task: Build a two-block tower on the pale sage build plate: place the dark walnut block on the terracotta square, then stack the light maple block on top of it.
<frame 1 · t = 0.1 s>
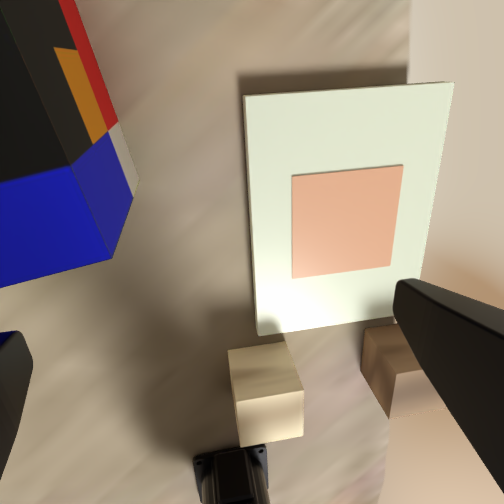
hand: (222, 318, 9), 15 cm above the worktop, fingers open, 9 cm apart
puzzle toy: (11, 110, 19), on the worktop
build plate: (339, 218, 25), on the worktop
walnut block: (387, 345, 31), on the worktop
maple block: (257, 367, 30), on the worktop
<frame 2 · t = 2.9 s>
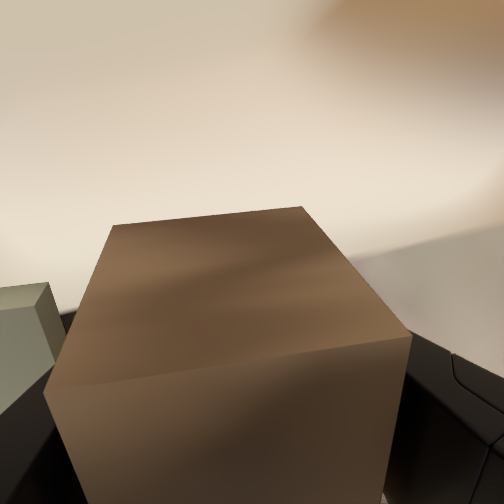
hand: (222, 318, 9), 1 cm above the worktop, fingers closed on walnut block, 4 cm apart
walnut block: (218, 294, 10), on the worktop, touching gripper
when the fingers open (3 cm above the worktop, at t = 6.5 s): walnut block stays where it is, resting on build plate.
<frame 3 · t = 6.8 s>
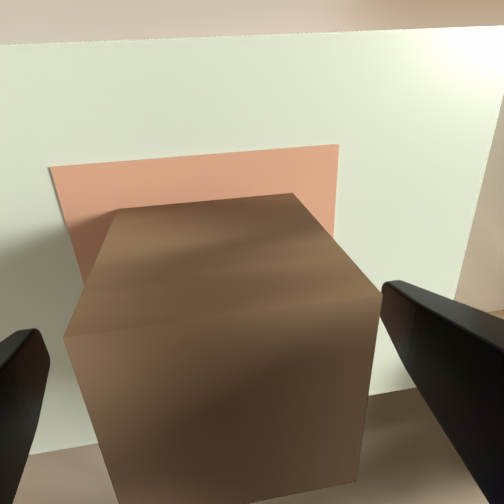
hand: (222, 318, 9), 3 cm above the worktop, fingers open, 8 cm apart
build plate: (211, 261, 12), on the worktop
walnut block: (215, 275, 11), point 1 cm above the worktop, touching build plate
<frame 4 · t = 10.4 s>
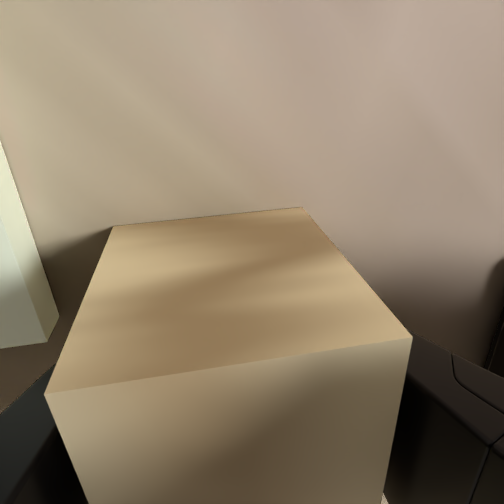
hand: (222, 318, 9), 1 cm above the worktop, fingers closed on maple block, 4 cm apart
maple block: (218, 295, 10), on the worktop, touching gripper
when the fingers open (8 cm above the worktop, at t = 13.6 s): maple block stays where it is, resting on walnut block.
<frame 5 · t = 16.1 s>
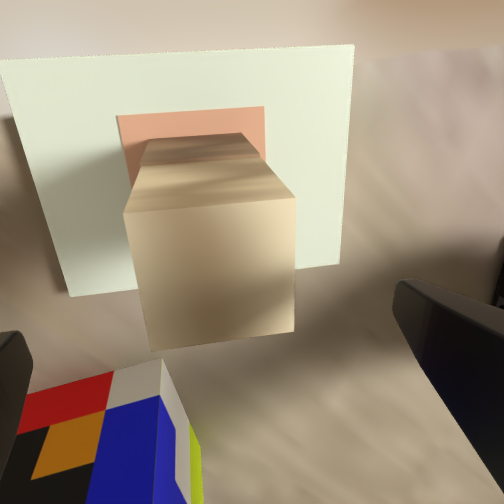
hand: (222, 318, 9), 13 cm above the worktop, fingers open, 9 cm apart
puzzle toy: (117, 422, 28), on the worktop
build plate: (199, 176, 21), on the worktop
walnut block: (200, 180, 20), point 1 cm above the worktop, touching build plate, maple block
maple block: (207, 217, 15), point 6 cm above the worktop, touching walnut block
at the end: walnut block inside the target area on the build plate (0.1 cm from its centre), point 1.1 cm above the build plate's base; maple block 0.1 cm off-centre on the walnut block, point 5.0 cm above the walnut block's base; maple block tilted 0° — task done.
